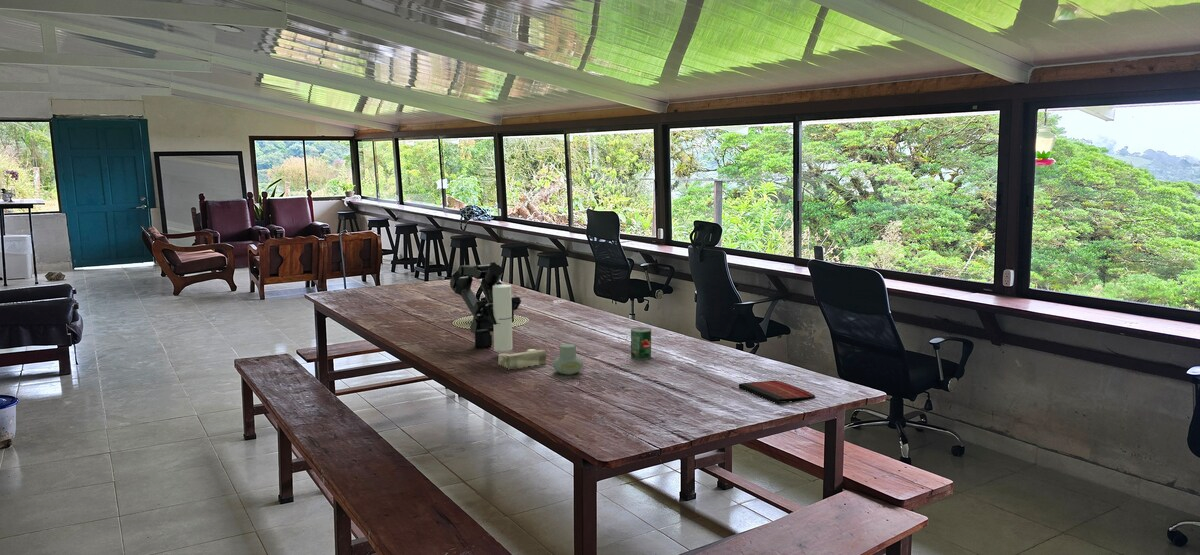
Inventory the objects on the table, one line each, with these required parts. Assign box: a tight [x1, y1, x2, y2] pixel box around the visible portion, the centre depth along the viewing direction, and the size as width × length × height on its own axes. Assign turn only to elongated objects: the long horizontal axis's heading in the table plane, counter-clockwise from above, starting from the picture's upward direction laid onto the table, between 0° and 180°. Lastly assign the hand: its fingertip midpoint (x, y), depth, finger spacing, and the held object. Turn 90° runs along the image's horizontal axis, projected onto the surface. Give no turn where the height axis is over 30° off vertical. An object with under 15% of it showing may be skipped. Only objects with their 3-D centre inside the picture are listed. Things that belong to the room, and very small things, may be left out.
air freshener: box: [552, 343, 584, 376], centre depth 295 cm, size 11×8×10 cm
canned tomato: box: [630, 326, 652, 360], centre depth 316 cm, size 8×8×11 cm
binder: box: [738, 380, 816, 405], centre depth 269 cm, size 16×2×21 cm
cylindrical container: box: [492, 283, 513, 352], centre depth 319 cm, size 7×7×25 cm
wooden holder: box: [497, 348, 547, 370], centre depth 308 cm, size 10×15×5 cm, turn 123°
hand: (504, 323), depth 318 cm, fingers closed on cylindrical container, 7 cm apart
